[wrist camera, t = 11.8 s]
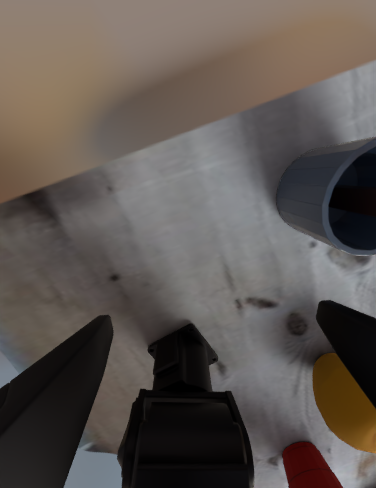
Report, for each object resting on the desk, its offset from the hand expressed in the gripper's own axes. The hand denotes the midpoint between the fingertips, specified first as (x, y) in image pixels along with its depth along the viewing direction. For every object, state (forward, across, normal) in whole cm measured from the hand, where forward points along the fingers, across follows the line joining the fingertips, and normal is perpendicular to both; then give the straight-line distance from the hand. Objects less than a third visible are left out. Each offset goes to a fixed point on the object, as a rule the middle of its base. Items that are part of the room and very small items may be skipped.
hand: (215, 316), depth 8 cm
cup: (+12, -12, -4) cm, 17 cm away
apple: (+12, -17, +18) cm, 28 cm away
